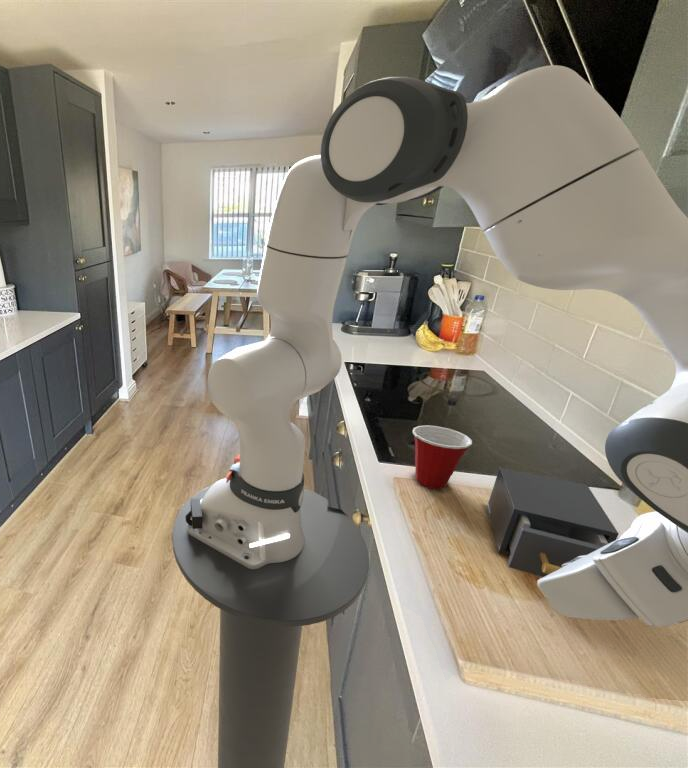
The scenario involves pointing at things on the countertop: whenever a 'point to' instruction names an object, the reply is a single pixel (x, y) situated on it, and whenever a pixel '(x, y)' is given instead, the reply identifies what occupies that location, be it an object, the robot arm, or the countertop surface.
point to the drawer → (548, 545)
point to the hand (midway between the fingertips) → (573, 567)
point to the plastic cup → (437, 454)
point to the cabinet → (543, 505)
